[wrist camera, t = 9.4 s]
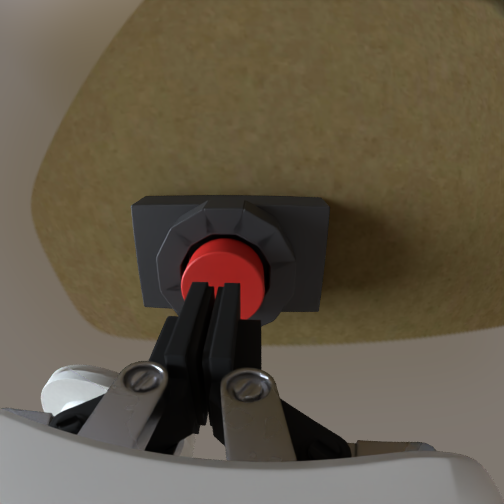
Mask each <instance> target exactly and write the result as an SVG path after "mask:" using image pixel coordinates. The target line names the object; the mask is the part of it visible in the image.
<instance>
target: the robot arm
mask: <svg viewBox="0 0 504 504" xmlns="http://www.w3.org/2000/svg"><path fill="white" fill-rule="evenodd" d="M208 413H209V420H210V425H211V426H212V428H213V435H214V437H216V438H217V439H218V440H219V441H220V442H221V443H222V444H223V445H224V446H225V448H226V458H227V461H225V460H211V459H201V458H191V457H182V456H180V454H181V452H182V449H183V447H184V439H185V438H186V437H188V436H190V435H192V434H199V428H200V425H206V422H207V416H208ZM0 504H504V500H503V498H502V496H501V494H500V492H499V490H498V488H497V486H496V484H495V483H494V481H493V479H492V478H491V476H490V475H489V473H488V472H487V470H486V469H485V468H484V467H483V466H482V465H481V464H480V463H478V462H477V461H476V460H474V459H472V458H470V457H468V456H464V455H461V454H455V453H449V452H439V451H436V450H435V449H434V448H433V447H432V446H430V445H429V444H426V443H422V442H380V441H379V442H378V441H361V440H358V441H357V443H355V444H354V443H347V442H346V441H345V440H344V439H342V438H341V437H340V436H338V435H337V434H335V433H333V432H332V431H330V430H328V429H327V428H325V427H323V426H322V425H320V424H319V423H317V422H315V421H314V420H312V419H311V418H309V417H308V416H306V415H304V414H303V413H301V412H300V411H298V410H297V409H295V408H294V407H292V406H291V405H289V404H288V403H286V402H285V401H283V400H282V399H280V397H279V393H278V390H277V386H276V383H275V381H274V379H273V377H271V376H270V375H269V374H268V373H266V372H264V371H262V370H261V320H251V319H241V301H240V283H224V287H220V286H219V287H218V290H217V294H216V298H215V290H214V286H209V283H208V282H192V283H191V286H190V288H189V291H188V293H187V296H186V298H185V301H184V304H183V306H182V309H181V311H180V314H179V316H178V317H176V316H169V317H167V319H166V321H165V324H164V326H163V328H162V330H161V333H160V335H159V337H158V340H157V342H156V345H155V347H154V349H153V352H152V354H151V357H150V359H149V361H139V362H135V363H133V364H130V365H128V366H127V367H125V368H124V369H123V370H122V371H121V372H120V373H119V375H118V376H117V378H116V379H115V381H114V382H113V383H112V385H111V386H110V388H109V389H108V391H107V392H106V393H105V394H103V395H100V396H98V397H96V398H93V399H91V400H89V401H82V400H79V401H72V402H69V403H67V404H66V405H65V406H64V407H63V409H62V410H61V412H60V413H59V414H57V415H56V416H53V414H52V413H47V412H37V411H27V410H19V409H12V408H1V409H0Z"/></svg>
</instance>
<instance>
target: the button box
mask: <svg viewBox="0 0 504 504" xmlns="http://www.w3.org/2000/svg"><path fill="white" fill-rule="evenodd" d="M131 210H132V220H133V230H134V239H135V247H136V255H137V263H138V270H139V277H140V283H141V290H142V296H143V302H144V307H155V308H172V309H174V311H175V312H176V313H177V314H178V316H179V314H180V311H181V309H182V306H183V304H184V298H183V295H182V291H181V280H182V276H183V273H184V271H185V269H186V267H187V265H188V263H189V261H190V259H191V257H192V255H193V253H194V252H195V251H196V250H197V249H198V248H199V247H200V246H201V245H203V244H204V243H206V242H208V241H210V240H214V239H219V238H230V239H235V240H238V241H241V242H243V243H245V244H247V245H248V246H250V247H251V248H252V249H253V250H254V251H255V252H256V253H257V255H258V256H259V258H260V260H261V262H262V264H263V269H264V285H265V293H264V299H263V302H262V304H261V306H260V308H259V309H258V310H257V312H256V313H255V314H254V315H252V316H251V317H250V318H248V319H251V320H261V326H263V325H266V324H268V323H270V322H272V321H274V320H275V319H276V318H277V316H278V315H279V314H280V312H318V311H319V306H320V298H321V290H322V282H323V274H324V265H325V256H326V246H327V236H328V225H329V213H330V207H329V206H328V205H327V203H326V202H325V201H324V200H323V199H322V198H318V197H291V196H243V195H191V196H145V197H144V198H142V199H140V200H139V201H137V202H136V203H134V204H133V205H131Z"/></svg>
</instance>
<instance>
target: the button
mask: <svg viewBox="0 0 504 504" xmlns="http://www.w3.org/2000/svg"><path fill="white" fill-rule="evenodd" d="M192 282H208V283H209V286H214V290H215V298H216V294H217V290H218V287H219V286H220V287H224V283H240V301H241V319H248V318H250V317H251V316H252V315H254V314H255V313H256V312H257V310H258V309H259V308H260V306H261V304H262V302H263V299H264V293H265V285H264V269H263V264H262V262H261V260H260V258H259V256H258V255H257V253H256V252H255V251H254V250H253V249H252V248H251V247H250V246H248V245H247V244H245V243H243V242H241V241H238V240H235V239H230V238H219V239H214V240H210V241H208V242H206V243H204V244H203V245H201V246H200V247H199V248H198V249H197V250H196V251H195V252H194V253H193V255H192V257H191V259H190V261H189V263H188V265H187V267H186V269H185V271H184V273H183V276H182V280H181V291H182V295H183V298H184V301H185V298H186V296H187V293H188V291H189V288H190V286H191V283H192Z"/></svg>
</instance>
